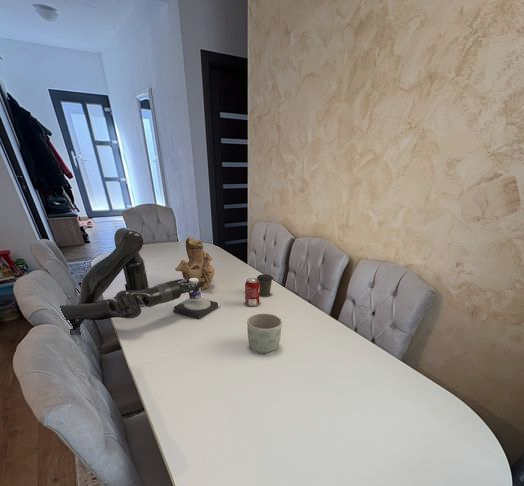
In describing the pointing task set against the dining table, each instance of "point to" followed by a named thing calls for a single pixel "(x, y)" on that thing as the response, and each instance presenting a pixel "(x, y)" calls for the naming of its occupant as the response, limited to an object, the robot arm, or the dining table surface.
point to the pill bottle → (198, 294)
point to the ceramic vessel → (196, 263)
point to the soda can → (252, 292)
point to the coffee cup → (265, 284)
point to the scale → (196, 307)
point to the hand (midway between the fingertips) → (198, 282)
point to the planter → (264, 332)
